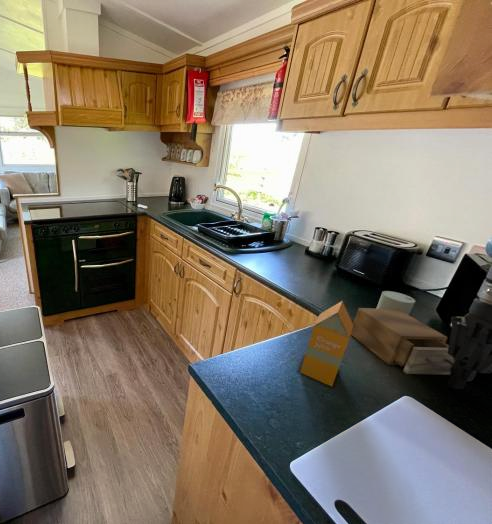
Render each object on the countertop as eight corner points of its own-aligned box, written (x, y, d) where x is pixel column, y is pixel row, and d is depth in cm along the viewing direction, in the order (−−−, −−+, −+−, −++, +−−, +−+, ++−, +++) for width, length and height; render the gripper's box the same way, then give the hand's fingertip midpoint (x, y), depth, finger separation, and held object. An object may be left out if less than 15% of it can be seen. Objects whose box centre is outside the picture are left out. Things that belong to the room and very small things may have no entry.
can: (408, 334, 99) (422, 303, 95) (376, 328, 102) (388, 298, 98) (396, 321, 107) (408, 292, 103) (367, 316, 110) (378, 287, 106)
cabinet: (433, 365, 84) (447, 337, 80) (388, 364, 83) (401, 336, 79) (387, 334, 98) (398, 309, 95) (349, 333, 98) (358, 307, 94)
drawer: (467, 386, 75) (481, 361, 72) (421, 385, 74) (434, 360, 71) (402, 342, 93) (411, 321, 90) (365, 341, 92) (373, 319, 89)
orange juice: (337, 369, 79) (360, 305, 72) (332, 387, 73) (357, 318, 66) (306, 356, 84) (325, 295, 77) (299, 372, 77) (319, 306, 71)
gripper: (453, 290, 70) (416, 368, 78) (522, 318, 58) (469, 408, 66) (481, 291, 71) (441, 369, 79) (556, 319, 58) (499, 408, 66)
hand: (454, 386), depth 72 cm, fingers closed
